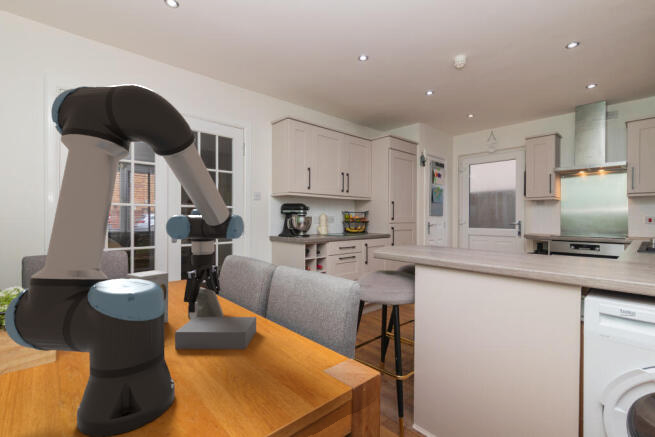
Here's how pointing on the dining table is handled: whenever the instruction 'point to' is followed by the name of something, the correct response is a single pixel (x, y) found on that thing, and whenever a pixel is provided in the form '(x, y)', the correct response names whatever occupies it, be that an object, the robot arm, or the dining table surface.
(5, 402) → the dining table surface
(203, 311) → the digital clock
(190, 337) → the charcoal block
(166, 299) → the supplement box
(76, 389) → the dining table surface
